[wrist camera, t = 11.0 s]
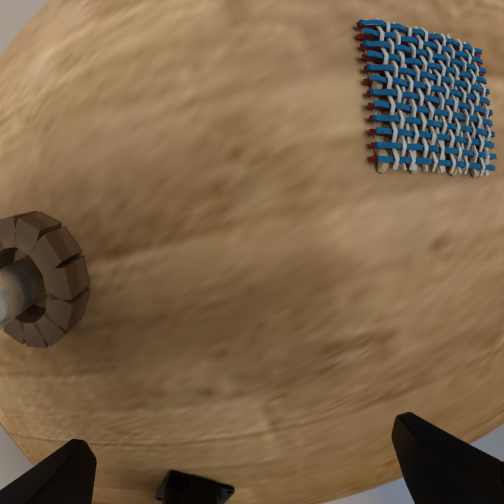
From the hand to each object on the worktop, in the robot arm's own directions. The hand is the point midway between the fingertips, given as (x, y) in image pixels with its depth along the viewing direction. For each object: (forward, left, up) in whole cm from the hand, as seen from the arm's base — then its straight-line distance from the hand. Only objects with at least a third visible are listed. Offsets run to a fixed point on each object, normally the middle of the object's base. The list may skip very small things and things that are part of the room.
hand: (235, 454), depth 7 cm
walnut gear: (-5, +13, -12) cm, 18 cm away
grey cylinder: (-5, +13, -12) cm, 18 cm away
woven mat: (+17, -6, -13) cm, 22 cm away
